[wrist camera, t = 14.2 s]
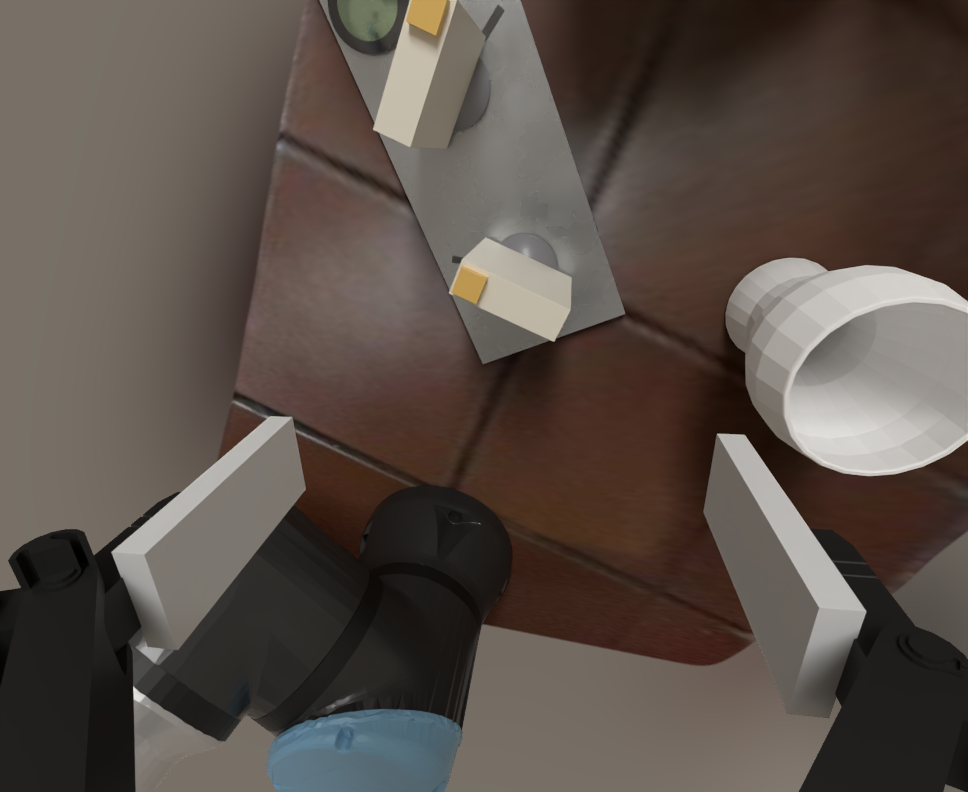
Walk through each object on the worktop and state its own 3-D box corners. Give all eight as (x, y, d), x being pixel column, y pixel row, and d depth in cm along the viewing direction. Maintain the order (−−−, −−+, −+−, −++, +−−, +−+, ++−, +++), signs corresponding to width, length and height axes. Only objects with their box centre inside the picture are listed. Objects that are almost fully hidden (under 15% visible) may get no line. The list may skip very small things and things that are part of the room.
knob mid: (400, 126, 37) (343, 116, 28) (434, 13, 34) (383, -39, 25) (467, 158, 37) (432, 159, 28) (508, 48, 34) (483, 10, 25)
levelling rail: (484, 360, 44) (481, 366, 43) (236, -193, 32) (222, -207, 30) (624, 311, 41) (626, 316, 39) (408, -335, 28) (400, -359, 27)
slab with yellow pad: (549, 319, 41) (542, 366, 32) (468, 281, 41) (437, 318, 32) (580, 257, 38) (582, 289, 29) (494, 217, 38) (469, 236, 29)
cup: (741, 399, 42) (819, 515, 29) (679, 289, 39) (734, 360, 26) (884, 332, 38) (1052, 429, 25) (827, 205, 35) (981, 236, 22)
